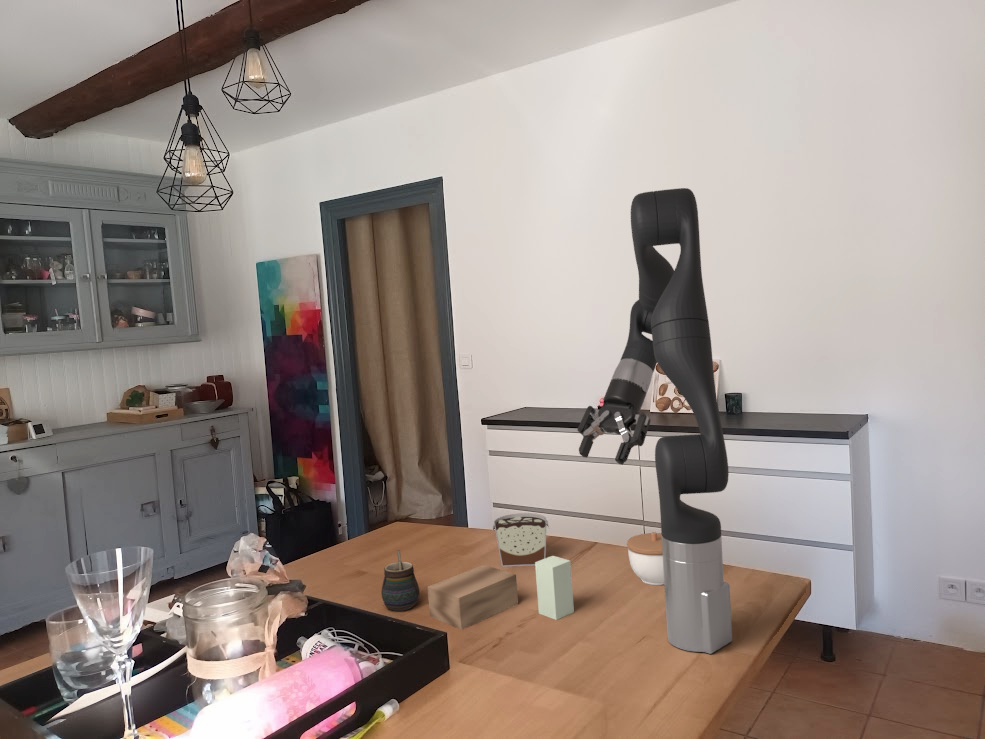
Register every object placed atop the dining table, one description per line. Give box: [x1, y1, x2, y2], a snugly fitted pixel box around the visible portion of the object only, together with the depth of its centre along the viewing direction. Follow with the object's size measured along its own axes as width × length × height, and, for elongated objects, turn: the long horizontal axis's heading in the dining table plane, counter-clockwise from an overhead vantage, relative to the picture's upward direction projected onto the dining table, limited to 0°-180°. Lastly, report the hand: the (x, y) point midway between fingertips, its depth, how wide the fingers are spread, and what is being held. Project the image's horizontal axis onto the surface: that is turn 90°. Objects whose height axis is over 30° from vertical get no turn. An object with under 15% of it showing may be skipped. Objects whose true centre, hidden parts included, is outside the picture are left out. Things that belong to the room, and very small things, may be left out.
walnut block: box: [427, 564, 519, 630], centre depth 137 cm, size 9×14×6 cm, turn 133°
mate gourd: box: [380, 549, 421, 612], centre depth 142 cm, size 7×8×10 cm
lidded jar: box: [626, 531, 664, 586], centre depth 146 cm, size 11×11×9 cm
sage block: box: [534, 555, 575, 621], centre depth 133 cm, size 4×4×10 cm
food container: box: [491, 512, 550, 567], centre depth 162 cm, size 12×6×10 cm, turn 84°
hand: (600, 459), depth 143 cm, fingers open, 8 cm apart
